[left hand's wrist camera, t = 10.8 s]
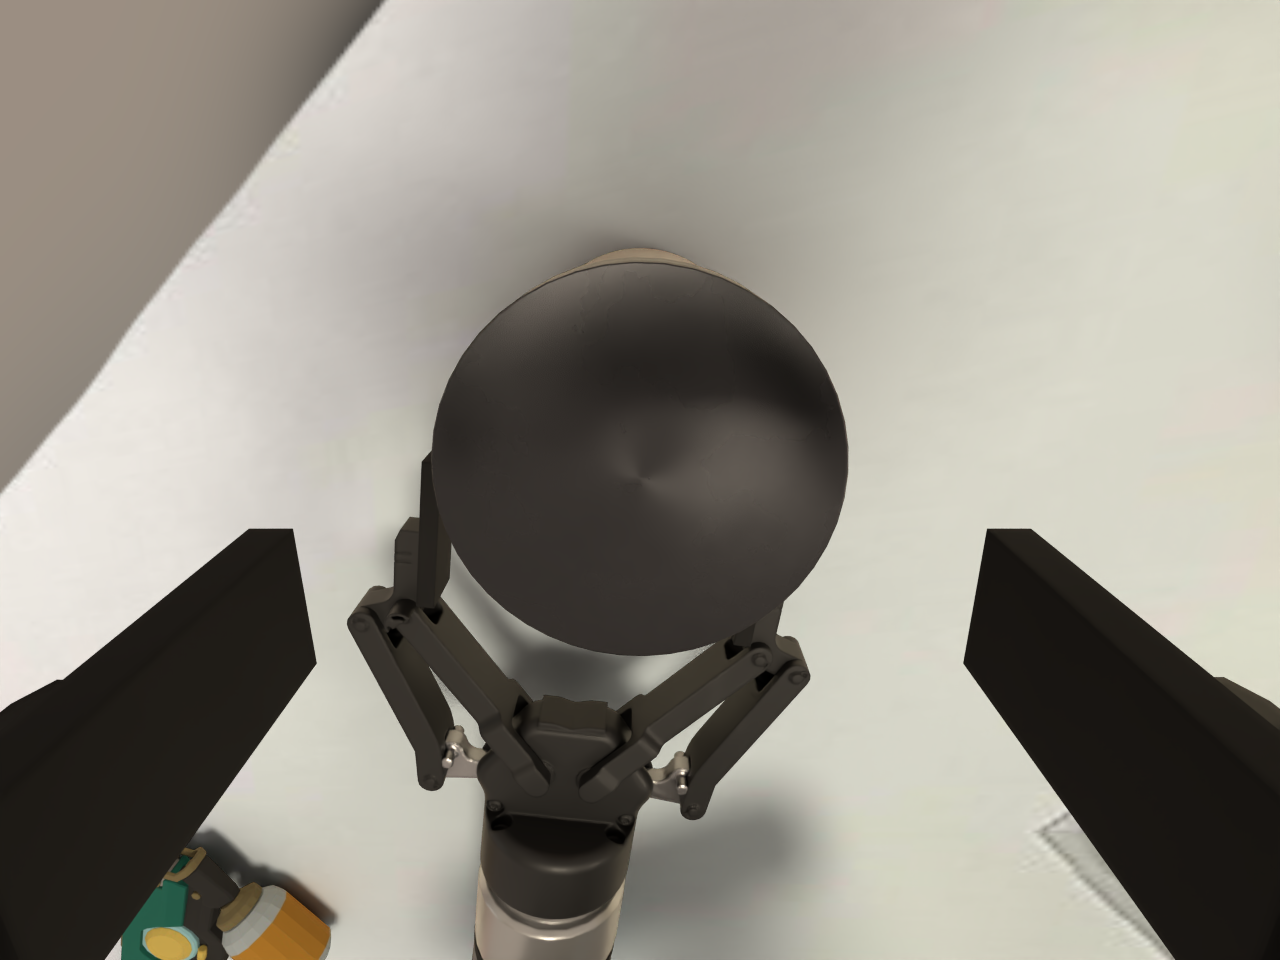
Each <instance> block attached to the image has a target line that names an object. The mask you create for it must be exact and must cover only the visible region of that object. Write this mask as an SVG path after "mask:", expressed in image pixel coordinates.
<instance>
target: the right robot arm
mask: <svg viewBox="0 0 1280 960" xmlns="http://www.w3.org/2000/svg"><path fill="white" fill-rule="evenodd" d="M431 455H432V451H431V452H430V453H429V454H428V455H427V456H426V458H425V459H424V460H423V461H422V468H421V493H420V518H415V517H409V519H408V520H407V521H406V523H405V524H404V525H403V527H402V528H401V529H400V531H399V533H398V535H397V537H396V539H395V556H394V560H395V562H394V587H390V588H385V587H383V586H373V587H372V588H370V589H369V590H368V592H367V593H366V594H365V596H364V597H363V598H362V600H361V601H360V603H359V604H358V605H357V607H356V608H355V610H354V611H353V612H352V614H351V615H350V617H349V618H348V621H347V626H348V629H349V631H350V633H351V634H352V636H353V638H354V640H355V642H356V644H357V645H358V647H359V649H360V651H361V653H362V655H363V656H364V658H365V660H366V662H367V664H368V666H369V668H370V669H371V671H372V673H373V675H374V677H375V679H376V680H377V682H378V684H379V686H380V688H381V690H382V691H383V693H384V695H385V697H386V699H387V701H388V703H389V704H390V706H391V708H392V710H393V712H394V714H395V715H396V717H397V719H398V721H399V723H400V725H401V726H402V728H403V730H404V732H405V734H406V736H407V738H408V739H409V741H410V743H411V745H412V747H413V749H414V750H415V755H416V766H417V776H418V782H419V785H420V786H421V787H422V788H424V789H426V790H429V791H435V790H438V789H440V788H441V787H442V786H443V784H444V781H445V778H446V777H464V778H478V781H479V783H480V784H481V786H482V788H483V790H484V793H485V807H484V819H483V830H482V842H481V859H480V860H481V864H480V868H479V875H478V890H477V905H476V920H475V930H474V948H473V956H472V960H611V954H612V950H613V946H614V941H615V937H616V934H617V928H618V922H619V916H620V911H621V905H622V899H623V893H624V886H625V879H626V874H627V869H628V864H629V859H630V853H631V847H632V842H633V836H634V830H635V825H636V819H637V814H638V811H639V809H640V808H641V807H642V805H643V804H644V803H645V802H646V801H647V800H648V799H649V797H650V798H655V799H660V800H665V801H670V802H675V803H680V810H681V814H682V816H683V817H685V818H686V819H689V820H697V819H700V818H701V817H703V815H704V814H705V812H706V809H707V807H708V804H709V801H710V799H711V796H712V793H713V790H714V788H715V785H716V784H717V783H718V782H719V781H720V780H721V779H722V778H723V777H724V775H725V774H726V773H727V772H728V771H729V770H730V769H731V768H732V767H733V766H734V764H735V763H736V762H737V761H738V760H739V759H740V758H741V757H742V756H743V754H744V753H745V752H746V751H747V750H748V749H749V748H750V747H751V746H752V745H753V743H754V742H755V741H756V740H757V739H758V738H759V737H760V736H761V735H762V733H763V732H764V731H765V730H766V729H767V728H768V727H769V726H770V725H771V724H772V722H773V721H774V720H775V719H776V718H777V717H778V716H779V715H780V714H781V712H782V711H783V710H784V709H785V708H786V707H787V706H788V705H789V704H790V703H791V701H792V700H793V699H794V698H795V697H796V696H797V695H798V694H799V693H800V691H801V690H802V689H803V688H804V687H805V686H806V685H807V684H808V682H809V680H810V673H809V670H808V667H807V664H806V662H805V659H804V656H803V653H802V651H801V648H800V646H799V643H798V641H797V640H796V639H795V638H793V637H791V636H784V637H781V636H779V635H778V634H776V633H777V629H778V624H779V620H780V616H781V611H782V607H783V603H784V602H783V603H782V604H780V605H779V606H778V607H777V608H775V609H774V610H773V611H771V612H770V613H769V614H767V615H766V616H765V617H764V618H762V619H761V620H759V621H757V622H756V623H754V624H752V625H751V626H749V627H747V628H746V629H744V630H742V631H741V632H739V633H736V634H734V635H732V636H730V637H727V638H725V639H723V640H721V641H718V642H716V643H715V644H714V645H712V646H711V647H710V648H708V649H707V650H706V651H704V652H703V653H702V654H700V655H699V656H698V657H696V658H695V659H694V660H692V661H691V662H690V663H688V664H687V665H686V666H684V667H683V668H682V669H680V670H679V671H678V672H676V673H675V674H674V675H672V676H671V677H670V678H668V679H667V680H666V681H664V682H663V683H662V684H660V685H659V686H658V687H656V688H655V689H654V690H652V691H651V692H650V693H648V694H647V695H642V694H639V695H637V696H636V697H634V698H633V699H632V700H630V701H629V702H628V703H626V704H625V705H624V706H622V707H621V708H620V709H618V710H617V711H614V710H613V709H611V708H608V707H607V704H608V702H601V701H582V702H573V701H570V700H568V699H565V698H562V697H558V696H549V695H544V696H543V700H538V701H535V702H533V701H532V699H531V698H530V697H529V696H528V695H527V693H526V692H525V691H524V690H523V688H522V687H521V686H520V685H519V684H518V682H517V681H516V680H514V679H508V678H507V677H506V676H505V675H504V673H503V672H502V671H501V670H500V669H499V667H498V666H497V665H496V664H495V662H494V661H493V660H492V659H491V658H490V656H489V655H488V654H487V653H486V651H485V650H484V649H483V648H482V647H481V645H480V644H479V643H478V642H477V641H476V639H475V638H474V637H473V636H472V634H471V633H470V632H469V631H468V630H467V628H466V627H465V626H464V625H463V623H462V622H461V621H460V620H459V619H458V617H457V616H456V615H455V614H454V612H453V611H452V610H451V609H450V608H449V606H448V605H447V604H446V603H445V602H444V600H443V599H442V598H441V597H440V596H441V594H442V592H443V590H444V588H445V586H446V584H447V582H448V580H449V577H450V560H451V540H450V538H449V536H448V534H447V532H446V530H445V527H444V524H443V521H442V518H441V515H440V512H439V509H438V506H437V501H436V496H435V491H434V486H433V476H432V459H431ZM429 667H430V668H431V669H432V670H433V671H434V673H435V674H436V675H437V676H438V677H439V678H440V680H441V681H442V682H443V683H444V684H445V685H446V686H447V688H448V689H449V690H450V691H451V692H452V693H453V695H454V696H455V697H456V698H457V699H458V700H459V702H460V703H461V704H462V705H463V706H464V707H465V709H466V710H467V711H468V712H469V713H470V714H471V716H472V717H473V718H474V719H475V720H476V722H477V723H478V725H479V731H480V734H481V737H482V738H483V740H484V741H485V742H486V743H485V745H484V746H483V748H476V747H474V746H472V745H471V744H470V743H469V742H468V740H467V737H466V735H465V734H464V728H463V727H462V726H459V725H457V726H454V721H453V716H452V713H451V710H450V708H449V705H448V703H447V701H446V699H445V697H444V695H443V693H442V691H441V689H440V687H439V685H438V684H437V682H436V680H435V678H434V676H433V674H432V672H431V670H430V668H429ZM725 699H726V700H725ZM724 700H725V701H724ZM723 701H724V702H723ZM721 702H723V703H722V704H721V705H720V707H719V708H718V709H717V710H716V711H715V712H714V713H713V715H712V716H711V717H710V718H709V719H708V720H707V722H706V723H705V724H704V725H703V726H702V727H701V728H700V730H699V731H698V732H697V733H696V734H695V736H694V737H693V738H692V740H691V742H690V743H689V745H688V747H687V749H686V752H685V753H684V752H682V751H678V752H676V753H675V754H674V758H673V759H672V760H671V761H670V762H669V764H668V765H667V766H665V767H663V768H660V769H655V768H653V767H652V763H651V761H652V760H653V759H654V758H655V757H656V756H657V755H658V754H659V752H660V750H661V748H662V746H663V745H664V744H665V743H666V742H667V741H669V740H670V739H671V738H673V737H674V736H676V735H677V734H678V733H680V732H681V731H682V730H684V729H685V728H687V727H688V726H689V725H691V724H692V723H694V722H695V721H696V720H698V719H699V718H700V717H702V716H703V715H705V714H706V713H707V712H709V711H710V710H712V709H713V708H714V707H716V706H717V705H718V704H720V703H721Z"/></svg>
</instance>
